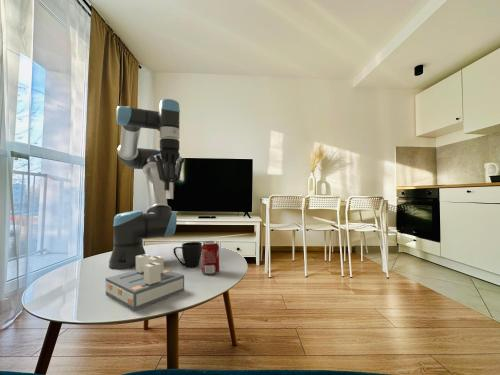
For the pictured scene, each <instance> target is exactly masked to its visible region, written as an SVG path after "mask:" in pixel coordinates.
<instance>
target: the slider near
mask: <svg viewBox="0 0 500 375" xmlns="http://www.w3.org/2000/svg"><path fill="white" fill-rule="evenodd" d="M159 281H161V264H159V263H156V262H154V263H149V264H146V265H144V283H146V284H149V285H150V284H153V283H156V282H159Z"/></svg>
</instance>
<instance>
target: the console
mask: <svg viewBox="0 0 500 375" xmlns="http://www.w3.org/2000/svg"><path fill="white" fill-rule="evenodd" d="M182 292H185V274H182V273H179V272H175V271H172V270H169V269H166V268H163V273H161V281H159V282H156V283H153V284H150V285H149V284H146V283H144V272H142V273H139V272H136V269H134V270H131V271H127V272H124V273H119V274H116V275H112V276H108V277H105V296H108V297H110V298H112V299H113V300H115V301H117V302H119V304H122V305H124V306H125V307H127V308H128V309H130V310H132V311H138V310H141V309H143V308H145V307H148V306H150V305H153V304H155V303H157V302H161V301H163V300H166V299H169V298H170V297H173V296H175V295H177V294H180V293H182Z"/></svg>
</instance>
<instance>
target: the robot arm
mask: <svg viewBox="0 0 500 375" xmlns="http://www.w3.org/2000/svg"><path fill="white" fill-rule="evenodd" d="M158 108H159V111H156V110H150V109H142V108H137V107H131V106H125V105H119V106H117V107H116V124H117V125H119V126H120V127H121V128H120V141H119V146H118V147H117V150H116V151H117V152H116V155H117V157H118V160H119V161H120V162H121V163H122V164H123V165H125V166H126V167H128V168H130V169H134V170H142V173H143V174H144V175H145V177H146V186H147V198H148V206H149V208H148V209H147V210H146V213H144V211H143V210H141V209H140V210H132V211H125V212H121V213H117V214H116V215H115V216H114V217H113V225H112V226H113V249H112V251H111V255H110V257H109V261H108V268H109V269H114V270H122V269H131V268H132V269H133V268H136V256H139V255H141V254H142V255H143V254H147V253H146V250H145V247H144V246H143V244H144V243H143V242H144V241H143V240H147V239H155V238H166V237H172V236H174V235H175V232H176V228H177V223H178V221H177V216H178V215H177V213H176V211H172V207H171V206H169V205H168V199H169V200H170V199H171V200H174V191H175V188H176V186H175V185H176V182H179V181H180V177H181V174H182V169H183V163H184V162H185V158H184V157H182V156H180V152H179V151H180V114H181V113H180V112H181V110H180V103H179V102H178V101H177V100H175V99H172V98H164V99H160V102H159V107H158ZM142 129H148V130H149V129H150V130H151V129H152V130H157V131H158V132H159V138H160V139H159V149H158V148H154V149H153V148H143V147H141V148H139V147H138V144H139V140H140V139H139V138H140V134H141V130H142Z"/></svg>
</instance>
